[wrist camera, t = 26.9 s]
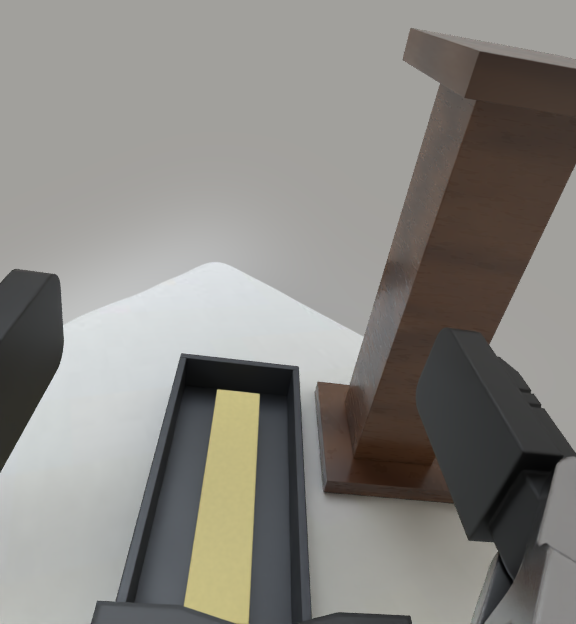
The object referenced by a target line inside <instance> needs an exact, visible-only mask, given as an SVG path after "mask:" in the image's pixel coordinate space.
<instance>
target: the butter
mask: <svg viewBox="0 0 576 624" xmlns="http://www.w3.org/2000/svg"><path fill="white" fill-rule="evenodd" d="M259 404H260V394H257V393H248V392H238V391H229V390H220V389H217V394H216V400H215V407H214V413H213V420H212V426H211V433H210V439H209V446H208V452H207V459H206V465H205V472H204V478H203V484H202V491H201V497H200V504H199V510H198V517H197V523H196V530H195V536H194V543H193V549H192V556H191V562H190V568H189V575H188V581H187V588H186V594H185V601H184V607H187V608H190V609H194V610H197V611H200V612H203V613H206V614H209V615H212V616H215V617H218V618H221V619H224V620H227V621H230V622H233V623H236V624H249V609H250V589H251V568H252V548H253V527H254V506H255V486H256V465H257V445H258V424H259Z"/></svg>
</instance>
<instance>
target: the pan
mask: <svg viewBox="0 0 576 624" xmlns="http://www.w3.org/2000/svg"><path fill="white" fill-rule="evenodd" d="M217 389H220V390H229V391H238V392H248V393H257V394H260V404H259V424H258V445H257V465H256V486H255V506H254V527H253V548H252V568H251V589H250V609H249V624H294V623H298V622H302V621H306V620H310V619H312V615H311V596H310V577H309V557H308V538H307V518H306V499H305V479H304V460H303V441H302V421H301V402H300V382H299V367H298V366H290V365H281V364H272V363H263V362H254V361H245V360H236V359H227V358H218V357H209V356H201V355H192V354H183V353H181V356H180V360H179V364H178V368H177V371H176V375H175V379H174V383H173V386H172V390H171V394H170V398H169V402H168V405H167V409H166V413H165V417H164V420H163V424H162V428H161V432H160V436H159V439H158V443H157V447H156V451H155V454H154V458H153V462H152V466H151V470H150V473H149V477H148V481H147V485H146V488H145V492H144V496H143V500H142V503H141V507H140V511H139V515H138V519H137V522H136V526H135V530H134V534H133V537H132V541H131V545H130V549H129V553H128V556H127V560H126V564H125V568H124V571H123V575H122V579H121V583H120V587H119V590H118V594H117V598H116V602H131V603H152V604H173V605H181V606H184V601H185V594H186V588H187V581H188V575H189V568H190V562H191V556H192V549H193V543H194V536H195V530H196V523H197V517H198V510H199V504H200V497H201V491H202V484H203V478H204V472H205V465H206V459H207V452H208V446H209V439H210V433H211V426H212V420H213V413H214V407H215V400H216V394H217Z"/></svg>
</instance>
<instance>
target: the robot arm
mask: <svg viewBox="0 0 576 624" xmlns="http://www.w3.org/2000/svg"><path fill="white" fill-rule="evenodd" d="M62 320H63V319H62V303H61V287H60V280H59V278H58V276H57V275H56V274H49V273H43V272H35V271H28V270H20V269H14V270H12V271H11V272H10V273H9V274H8V275H7V276H6V277H5V278H4V279H3V281H2V282H1V283H0V472H1V470H2V468H3V467H4V465H5V463H6V461H7V459H8V458H9V456H10V454H11V452H12V450H13V449H14V447H15V445H16V443H17V441H18V440H19V438H20V436H21V434H22V432H23V431H24V429H25V427H26V425H27V423H28V422H29V420H30V418H31V416H32V414H33V413H34V411H35V409H36V407H37V405H38V404H39V402H40V400H41V398H42V396H43V395H44V393H45V391H46V389H47V387H48V386H49V384H50V382H51V380H52V378H53V377H54V375H55V373H56V371H57V369H58V367H59V364H60V361H61V358H62V353H63V345H64V336H63V321H62ZM416 406H417V410H418V413H419V415H420V418H421V420H422V423H423V425H424V428H425V431H426V433H427V436H428V438H429V441H430V443H431V446H432V448H433V451H434V453H435V456H436V459H437V461H438V464H439V466H440V469H441V471H442V474H443V476H444V479H445V482H446V484H447V487H448V489H449V492H450V494H451V497H452V499H453V502H454V505H455V507H456V510H457V512H458V515H459V517H460V520H461V522H462V525H463V527H464V530H465V533H466V535H467V538H468V540H469V541H481V542H494V543H495V546H496V548H497V550H498V552H497V554H496V555H495V557H494V558H493V560H492V562H491V564H490V567H489V570H488V573H487V576H486V579H485V582H484V584H483V587H482V590H481V593H480V596H479V599H478V602H477V605H476V608H475V611H474V614H473V617H472V620H471V623H470V624H576V453H575V452H574V450H573V449H572V448H571V446H570V445H569V443H568V442H567V440H566V439H565V437H564V436H563V435H562V433H561V432H560V430H559V429H558V428H557V426H556V425H555V423H554V422H553V421H552V419H551V418H550V416H549V415H548V413H547V412H546V411H545V409H543V408H541V404H540V402H539V401H538V399H537V398H536V397H535V395H534V394H531V390H530V388H529V387H528V385H527V384H526V382H525V381H524V380H523V378H522V377H521V375H520V374H519V373H518V372H517V371H516V370H515V369H513V368H512V367H511V366H510V365H509V364H507V363H506V362H505V361H504V360H502V359H501V358H500V357H497V356H496V354H495V353H494V351H493V350H492V349H491V347H490V346H489V344H488V343H487V341H486V340H485V338H484V337H483V335H482V334H481V333H480V332H477V331H469V330H462V329H454V328H443V329H442V330H441V331H440V332H439V333H438V335H437V337H436V339H435V342H434V344H433V347H432V349H431V352H430V354H429V356H428V359H427V361H426V364H425V366H424V369H423V371H422V373H421V376H420V378H419V381H418V384H417V388H416ZM91 624H236V623H233V622H230V621H227V620H224V619H221V618H218V617H215V616H212V615H209V614H206V613H203V612H200V611H197V610H194V609H190V608H187V607H184V606H181V605H173V604H152V603H131V602H110V601H97V603H96V607H95V611H94V614H93V618H92V622H91ZM294 624H412V621H411V617H410V616H405V615H384V614H363V613H342V612H338V613H334V614H330V615H326V616H322V617H318V618H314V619H310V620H306V621H302V622H298V623H294Z"/></svg>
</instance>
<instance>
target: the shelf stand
mask: <svg viewBox="0 0 576 624" xmlns="http://www.w3.org/2000/svg"><path fill="white" fill-rule="evenodd" d="M403 61H405V62H407V63H408V64H410V65H412V66H413V67H415V68H416V69H418V70H420V71H421V72H423V73H425V74H426V75H428V76H430V77H431V78H433V79H434V80H436V81H438V82H439V83H440V86H439V89H438V92H437V96H436V99H435V102H434V106H433V109H432V112H431V116H430V119H429V122H428V126H427V129H426V133H425V136H424V139H423V142H422V146H421V149H420V152H419V156H418V159H417V162H416V166H415V169H414V172H413V176H412V179H411V182H410V186H409V189H408V192H407V196H406V199H405V202H404V206H403V209H402V212H401V215H400V219H399V222H398V226H397V229H396V232H395V235H394V239H393V242H392V245H391V249H390V252H389V256H388V259H387V263H386V265H385V269H384V272H383V275H382V279H381V282H380V286H379V289H378V292H377V296H376V299H375V302H374V305H373V309H372V312H371V316H370V319H369V322H368V325H367V329H366V332H365V335H364V339H363V342H362V345H361V349H360V352H359V355H358V359H357V362H356V365H355V369H354V372H353V375H352V379H351V382H350V385H343V384H334V383H325V382H317V386H316V390H315V399H316V410H317V422H318V433H319V444H320V456H321V467H322V479H323V490H324V492H330V493H341V494H353V495H364V496H376V497H387V498H399V499H410V500H422V501H433V502H445V503H454V502H453V499H452V497H451V494H450V492H449V489H448V487H447V484H446V482H445V479H444V476H443V474H442V471H441V469H440V466H439V464H438V461H437V459H436V456H435V453H434V451H433V448H432V446H431V443H430V441H429V438H428V436H427V433H426V431H425V428H424V425H423V423H422V420H421V418H420V415H419V413H418V410H417V406H416V388H417V384H418V381H419V378H420V376H421V373H422V371H423V369H424V366H425V364H426V361H427V359H428V356H429V354H430V352H431V349H432V347H433V344H434V342H435V339H436V337H437V335H438V333H439V332H440V331H441V330H442V329H443V328H454V329H462V330H469V331H477V332H480V333H481V334H482V335H483V337H484V338H485V340H486V341H487V343H488V344H490V342H491V340H492V338H493V336H494V334H495V332H496V329H497V327H498V325H499V323H500V321H501V319H502V317H503V315H504V313H505V311H506V309H507V307H508V305H509V302H510V300H511V298H512V296H513V294H514V292H515V290H516V288H517V286H518V284H519V282H520V279H521V277H522V275H523V273H524V271H525V269H526V267H527V265H528V263H529V260H530V259H531V256H532V254H533V252H534V250H535V248H536V246H537V244H538V242H539V240H540V238H541V236H542V233H543V231H544V229H545V227H546V225H547V223H548V221H549V219H550V217H551V214H552V212H553V211H554V208H555V206H556V204H557V202H558V200H559V198H560V196H561V194H562V192H563V189H564V187H565V185H566V183H567V181H568V179H569V177H570V175H571V172H572V171H573V169H574V167H575V164H576V59H572V58H568V57H564V56H559V55H554V54H549V53H543V52H537V51H533V50H527V49H522V48H516V47H511V46H505V45H500V44H495V43H489V42H484V41H478V40H473V39H468V38H462V37H457V36H451V35H446V34H441V33H435V32H430V31H425V30H419V29H414V28H411V29H410V32H409V36H408V40H407V44H406V48H405V52H404V56H403Z"/></svg>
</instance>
